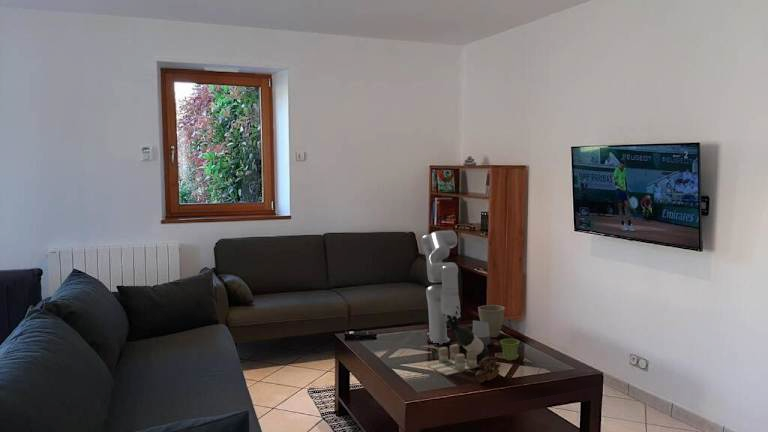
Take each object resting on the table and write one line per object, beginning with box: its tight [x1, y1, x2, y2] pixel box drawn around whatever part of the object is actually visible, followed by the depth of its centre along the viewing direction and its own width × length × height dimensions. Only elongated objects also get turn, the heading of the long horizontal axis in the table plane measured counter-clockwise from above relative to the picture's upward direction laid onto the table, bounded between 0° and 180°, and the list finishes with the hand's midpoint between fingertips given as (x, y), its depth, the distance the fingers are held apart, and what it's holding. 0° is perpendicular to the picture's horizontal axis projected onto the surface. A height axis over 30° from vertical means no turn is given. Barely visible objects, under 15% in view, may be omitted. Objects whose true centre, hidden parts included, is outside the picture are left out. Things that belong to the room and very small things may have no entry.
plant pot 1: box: [477, 304, 505, 338], centre depth 328 cm, size 15×15×16 cm
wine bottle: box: [445, 317, 489, 361], centre depth 283 cm, size 8×8×30 cm
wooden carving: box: [474, 356, 501, 383], centre depth 260 cm, size 16×5×10 cm, turn 139°
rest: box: [426, 343, 480, 376], centre depth 280 cm, size 16×20×8 cm
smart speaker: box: [471, 320, 491, 347], centre depth 311 cm, size 10×9×14 cm
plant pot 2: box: [499, 338, 520, 361], centre depth 287 cm, size 9×9×9 cm
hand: (451, 328), depth 279 cm, fingers closed on wine bottle, 3 cm apart
